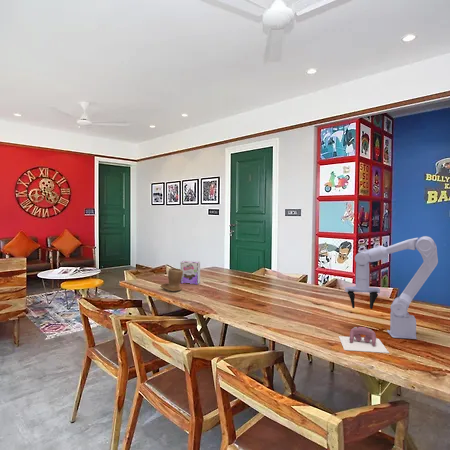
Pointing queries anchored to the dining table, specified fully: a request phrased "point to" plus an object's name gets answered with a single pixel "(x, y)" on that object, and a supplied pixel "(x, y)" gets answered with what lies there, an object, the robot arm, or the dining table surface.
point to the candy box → (190, 272)
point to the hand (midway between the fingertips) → (362, 307)
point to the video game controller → (363, 331)
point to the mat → (362, 345)
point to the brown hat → (173, 280)
